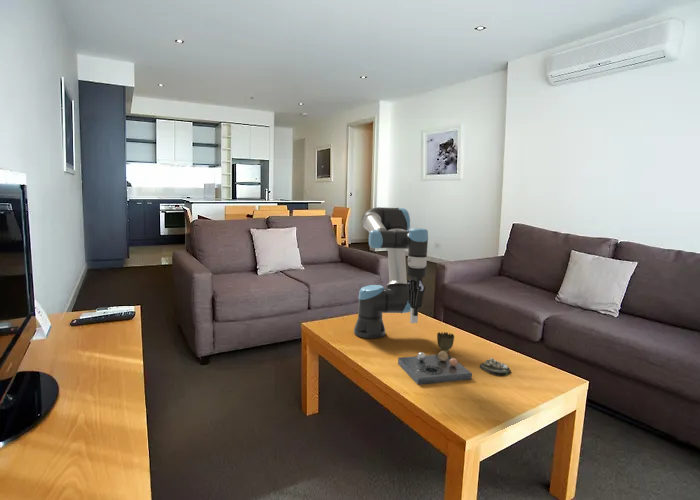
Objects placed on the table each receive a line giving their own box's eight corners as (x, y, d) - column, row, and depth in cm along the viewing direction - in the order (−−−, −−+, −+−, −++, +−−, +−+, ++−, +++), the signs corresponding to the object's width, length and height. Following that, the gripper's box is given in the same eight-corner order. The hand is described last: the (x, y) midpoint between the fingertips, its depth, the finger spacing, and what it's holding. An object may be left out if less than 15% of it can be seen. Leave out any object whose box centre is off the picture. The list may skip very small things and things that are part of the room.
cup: (453, 356, 180) (454, 338, 179) (435, 354, 182) (437, 336, 181) (452, 349, 188) (454, 332, 186) (436, 348, 189) (437, 331, 188)
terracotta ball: (447, 364, 165) (447, 357, 165) (454, 364, 166) (455, 356, 165) (451, 368, 162) (452, 360, 162) (458, 367, 163) (459, 359, 162)
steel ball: (415, 359, 169) (415, 351, 169) (423, 358, 170) (423, 350, 170) (419, 362, 166) (419, 354, 166) (426, 362, 167) (427, 353, 167)
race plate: (397, 363, 171) (398, 357, 170) (446, 359, 177) (447, 353, 176) (417, 384, 153) (418, 378, 152) (471, 379, 159) (472, 373, 158)
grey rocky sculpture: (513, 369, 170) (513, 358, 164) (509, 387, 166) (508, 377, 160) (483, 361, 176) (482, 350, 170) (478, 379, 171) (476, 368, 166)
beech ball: (435, 359, 170) (436, 349, 170) (444, 358, 171) (445, 349, 171) (440, 363, 166) (441, 353, 166) (449, 362, 167) (450, 352, 167)
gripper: (402, 263, 177) (399, 318, 180) (415, 269, 164) (411, 328, 168) (418, 263, 179) (415, 317, 182) (432, 269, 166) (429, 327, 170)
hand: (413, 322), depth 175 cm, fingers closed
